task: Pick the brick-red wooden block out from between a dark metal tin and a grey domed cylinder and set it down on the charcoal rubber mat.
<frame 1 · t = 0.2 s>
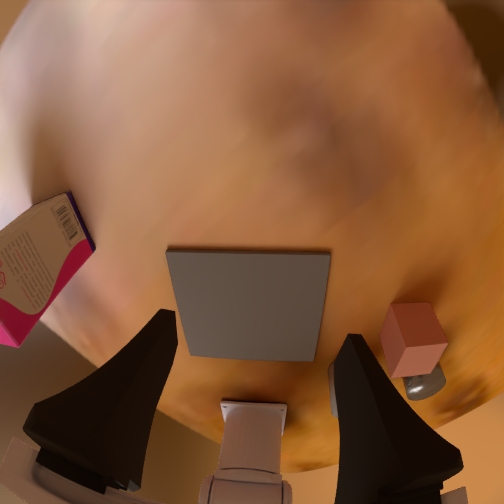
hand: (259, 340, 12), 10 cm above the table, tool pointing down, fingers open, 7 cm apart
charcoal mat: (249, 312, 25), on the table
metal tin: (417, 360, 27), on the table
red block: (403, 319, 24), on the table
grey domed cylinder: (348, 368, 28), on the table
supplement box: (62, 226, 22), on the table
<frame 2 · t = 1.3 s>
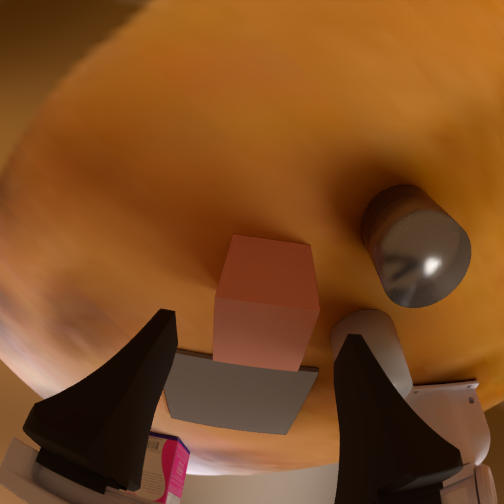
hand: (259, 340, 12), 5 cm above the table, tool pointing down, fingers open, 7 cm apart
charcoal mat: (232, 399, 24), on the table
metal tin: (399, 224, 14), on the table
red block: (266, 271, 16), on the table
grey domed cylinder: (362, 333, 18), on the table
supplement box: (166, 440, 32), on the table
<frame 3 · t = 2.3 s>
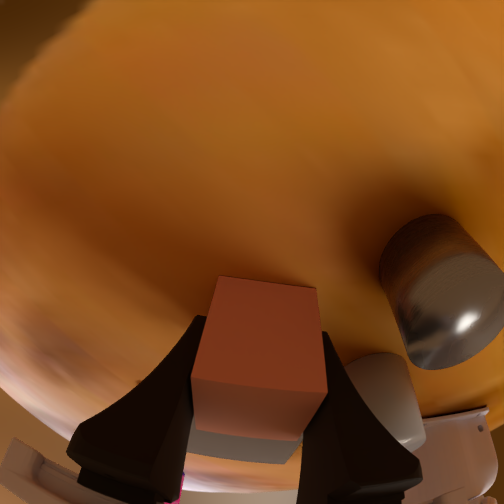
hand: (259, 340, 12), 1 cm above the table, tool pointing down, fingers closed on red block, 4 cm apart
charcoal mat: (225, 433, 21), on the table
metal tin: (425, 261, 11), on the table
red block: (261, 317, 13), on the table, touching gripper
grey domed cylinder: (371, 376, 15), on the table
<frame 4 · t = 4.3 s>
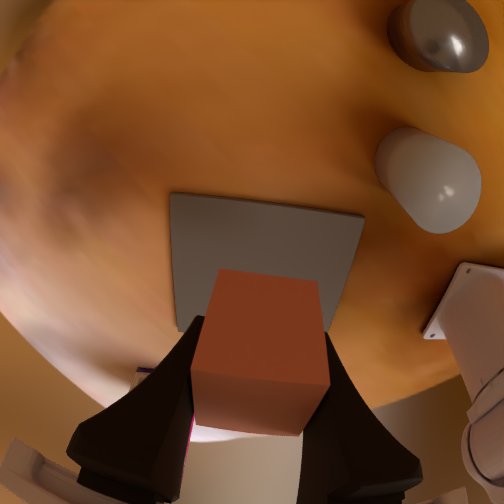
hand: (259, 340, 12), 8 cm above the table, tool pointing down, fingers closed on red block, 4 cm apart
charcoal mat: (257, 282, 21), on the table
metal tin: (420, 37, 11), on the table
red block: (262, 311, 13), point 7 cm above the table, touching gripper
grey domed cylinder: (407, 162, 15), on the table
supplement box: (169, 383, 30), on the table
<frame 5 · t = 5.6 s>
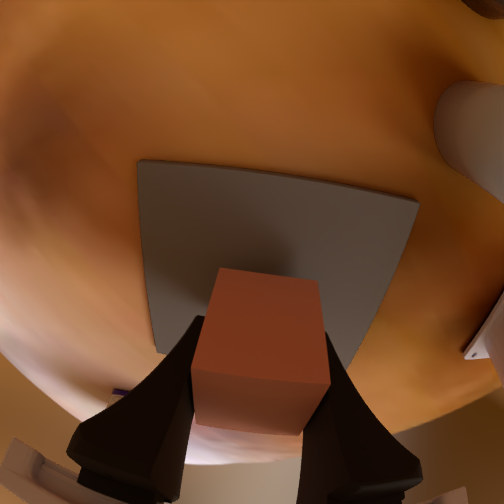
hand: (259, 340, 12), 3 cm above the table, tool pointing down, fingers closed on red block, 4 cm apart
charcoal mat: (263, 292, 15), on the table
red block: (262, 310, 13), point 2 cm above the table, touching gripper
grey domed cylinder: (472, 128, 9), on the table
when the fingers open (3 cm above the table, at t = 6.4 s): red block drops 1 cm, resting on charcoal mat.
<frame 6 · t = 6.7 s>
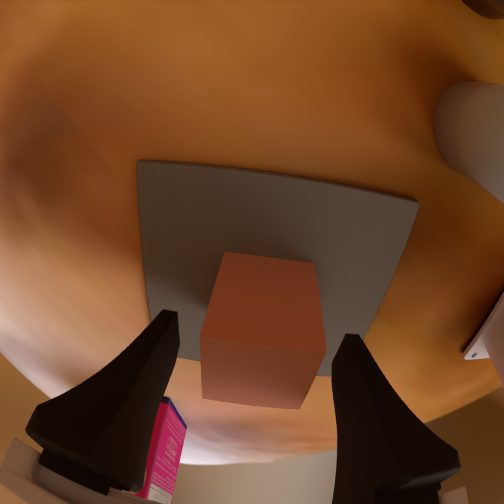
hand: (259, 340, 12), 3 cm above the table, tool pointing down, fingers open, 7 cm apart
charcoal mat: (263, 292, 15), on the table
red block: (264, 292, 14), resting on charcoal mat
grey domed cylinder: (472, 128, 9), on the table
supplement box: (152, 407, 23), on the table
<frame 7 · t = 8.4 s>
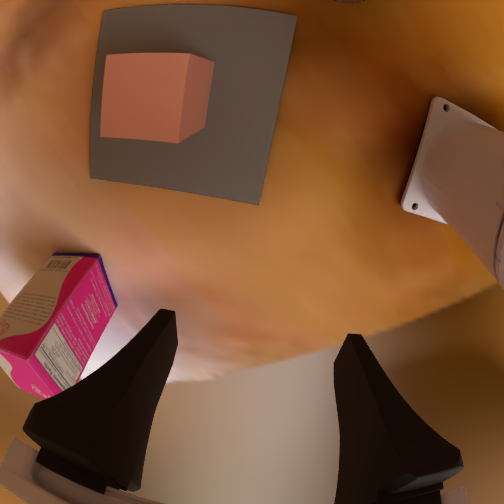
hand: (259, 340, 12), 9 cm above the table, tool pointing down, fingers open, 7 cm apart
charcoal mat: (177, 96, 16), on the table
red block: (176, 91, 15), resting on charcoal mat
supplement box: (86, 278, 24), on the table
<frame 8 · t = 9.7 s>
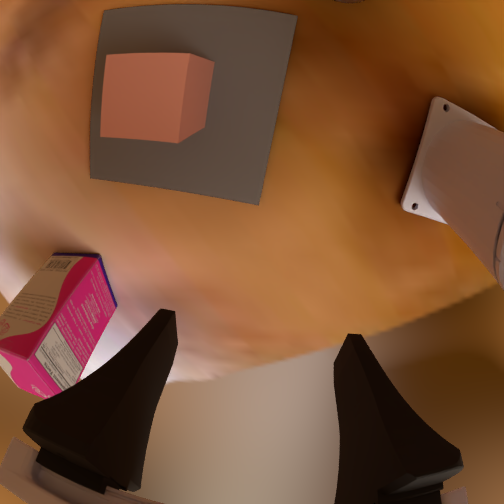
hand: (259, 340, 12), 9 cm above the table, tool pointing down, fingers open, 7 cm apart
charcoal mat: (177, 96, 16), on the table
red block: (176, 91, 15), resting on charcoal mat
supplement box: (86, 278, 24), on the table
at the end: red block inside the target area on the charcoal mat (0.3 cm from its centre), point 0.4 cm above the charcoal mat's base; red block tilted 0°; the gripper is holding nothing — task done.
